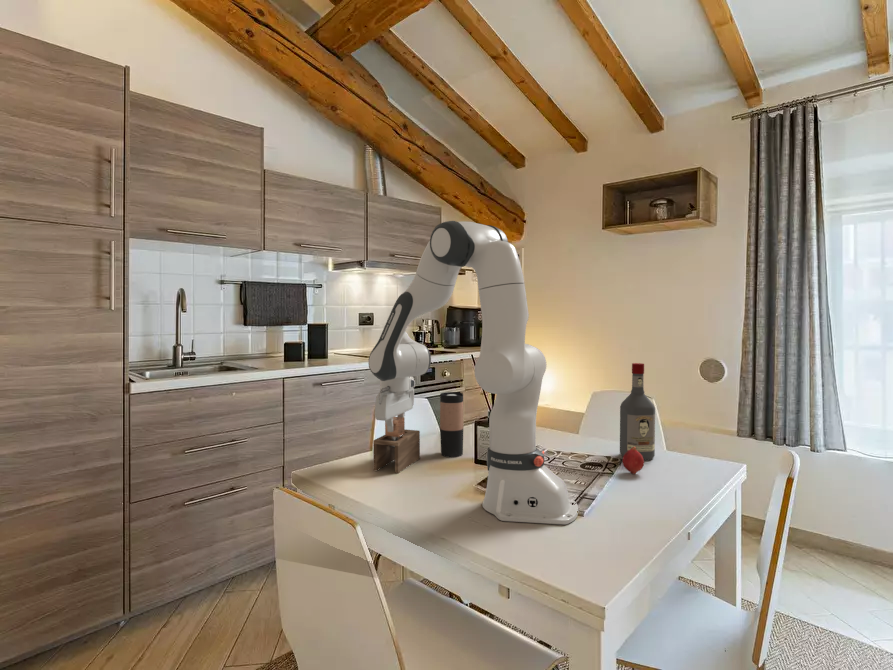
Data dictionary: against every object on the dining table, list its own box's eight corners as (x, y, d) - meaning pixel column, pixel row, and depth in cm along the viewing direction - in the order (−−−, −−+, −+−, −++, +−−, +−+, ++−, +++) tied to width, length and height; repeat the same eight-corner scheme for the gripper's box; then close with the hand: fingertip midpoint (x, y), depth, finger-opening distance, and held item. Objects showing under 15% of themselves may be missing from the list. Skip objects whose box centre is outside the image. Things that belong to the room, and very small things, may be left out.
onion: (622, 476, 148) (622, 448, 148) (622, 470, 153) (622, 443, 153) (644, 478, 146) (644, 449, 146) (643, 472, 152) (643, 444, 151)
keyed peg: (404, 444, 160) (404, 417, 160) (398, 448, 156) (398, 420, 156) (391, 443, 162) (391, 416, 161) (385, 447, 158) (385, 419, 157)
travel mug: (437, 452, 174) (437, 392, 173) (459, 450, 176) (458, 391, 175) (444, 458, 166) (443, 396, 165) (466, 456, 169) (466, 395, 168)
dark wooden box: (419, 458, 166) (419, 430, 166) (398, 473, 151) (397, 442, 151) (397, 456, 169) (396, 428, 169) (373, 470, 154) (373, 440, 154)
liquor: (617, 453, 171) (618, 362, 170) (643, 452, 172) (644, 362, 171) (629, 461, 162) (630, 365, 161) (657, 460, 163) (659, 365, 162)
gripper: (389, 389, 147) (389, 438, 148) (417, 380, 166) (417, 423, 167) (369, 388, 149) (369, 436, 150) (399, 379, 168) (399, 421, 169)
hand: (395, 429), depth 159 cm, fingers closed on keyed peg, 4 cm apart
